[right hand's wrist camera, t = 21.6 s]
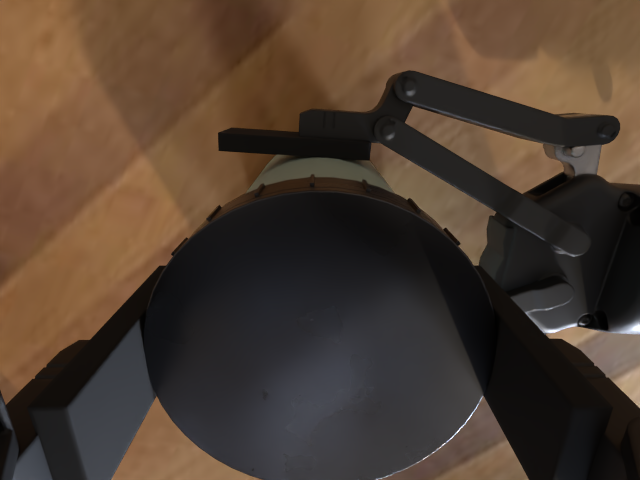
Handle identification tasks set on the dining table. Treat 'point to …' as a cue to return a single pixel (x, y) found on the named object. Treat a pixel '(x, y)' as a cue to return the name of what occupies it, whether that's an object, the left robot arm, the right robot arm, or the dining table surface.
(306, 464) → the lid
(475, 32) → the dining table surface
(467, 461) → the dining table surface
